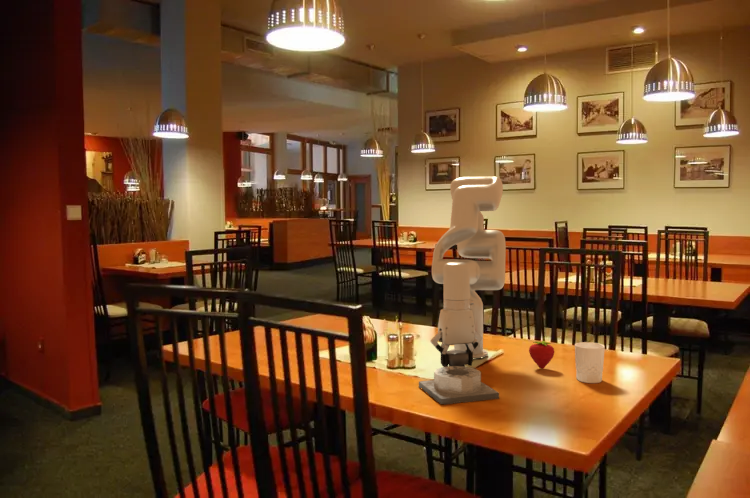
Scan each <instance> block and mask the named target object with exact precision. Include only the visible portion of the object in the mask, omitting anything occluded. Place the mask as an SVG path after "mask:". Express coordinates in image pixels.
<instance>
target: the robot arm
mask: <svg viewBox="0 0 750 498" xmlns="http://www.w3.org/2000/svg"><path fill="white" fill-rule="evenodd" d="M449 189H450V195H451V199H452V203H451V213H450V214H451V215H450V216H451V217H450V227H449V229H448V230H447V231H446V232H445V233H444V234H442V235H441V237H440V238H439V239H438V241H437V243H436V244H435V246H434V249H433V254H432V262H431V277H432V280H433V281H434V282H435V283H436V284H441V285H442V286H443V308H442V309H440V311H439V312H440V313H439V318H438V322H437V323H438V324H437V332H436V334H435V335H434V336H433V337H432V338H430V343H431V345H432V346H433V347H435V349H436V350H437V351H438V352H439V353H440V364H441V366H442V367H449V364H448V354H447V351H449V347H450V346H453V348H452V349H451V350H461V351H466V352H468V353H469V363H468V364H466V365H467V366H469V367H470V366H472V365H473V361H474V359H473V358H481V357H485V356H487V355H488V353H489V352H488V351H487V350H485V349H484V304H483V301H482V298H481V297H480V295H478V293H477V292H476V291H499V290H502V289H503V287H504V285H505V283H506V282H505V281H506V258H507V257H506V256H507V255H506V254H507V252H506V250H507V247H506V244H507V243H506V237H505V235H504V233H503V232H502V231H501V230H497V229H484V224H485V223H484V218H485V217H484V215H483V213H482V212H495V211H496V210H498V208H499V206H500V203H501V200H502V197H503V193H504V192H503V191H504V185H503V181H502V179H501V178H500V177H498V176H494V175H493V176H492V175H491V176H488V175H487V176H462V177H458V178H455V179H453V180H452V181H451V183H450V188H449ZM453 246H457V253H458V255H459V256H461V257H462V258H465V259H459V258H458V259H450V258H445V259H444V256H445V254H446V252H447V251H448V250H449V249H450V248H452V247H453ZM466 258H468V259H466ZM472 259H473V260H472ZM474 259H489V260H474ZM438 342H439V343H441V345H440V344H439V343H438ZM487 357H488V356H487ZM485 358H486V357H485ZM481 359H482V358H481Z"/></svg>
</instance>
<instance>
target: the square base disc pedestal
mask: <svg viewBox="0 0 750 498" xmlns="http://www.w3.org/2000/svg"><path fill="white" fill-rule="evenodd" d="M418 388H420V389H421V388H422V389H423V390H424V393H426V392H427V393H428V394H429V395H428V394H427V393H426V394H427V395H428V396H429V397H430V398H432V397H433V398H434V399H433V398H432V399H433V400H434V401H436V402H437V403H438V402H439V403H438V404H440V405H441V404H444V405H453V403H454V404H462V403H461V402H463V403H469V402H471V403H472V402H477V401H478V402H479V401H488V400H498V399H500V392H499V391H497V390H495V389H493V388H492V387H490V386H489V385H487V384H486V383H484V382H482V372H481V371H480V370H478V369H477V368H475V367H474V368H473V367H470V366H469V367H468V366H465V367H463V366H449V365H448V367H443V366H442V367H439V368H436V369H435V370H434V371H433V379H431V380H430V379H429V380H421V381H420V380H419V381H418ZM422 389H421V390H422ZM423 390H422V391H423Z"/></svg>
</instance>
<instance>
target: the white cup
mask: <svg viewBox="0 0 750 498" xmlns="http://www.w3.org/2000/svg"><path fill="white" fill-rule="evenodd" d="M574 353H575V354H574V357H575V359H574V360H575V369H576V370H575V372H576V375H575V377H576V380H577V381H578V382H582V383H586V384H598V383H601V382H602V381H603V371H604V364H605V363H604V360H605V345H604V344H602V343H599V342H592V341H591V342H589V341H584V342H583V341H580V342H576V343H574Z"/></svg>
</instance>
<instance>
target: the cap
mask: <svg viewBox="0 0 750 498" xmlns="http://www.w3.org/2000/svg"><path fill="white" fill-rule="evenodd" d="M447 354H448V367H449V366H463V367H466V365H467V364H468V363H469V353H468V352H466V351H461V350H452V349H450V350H447Z"/></svg>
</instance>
